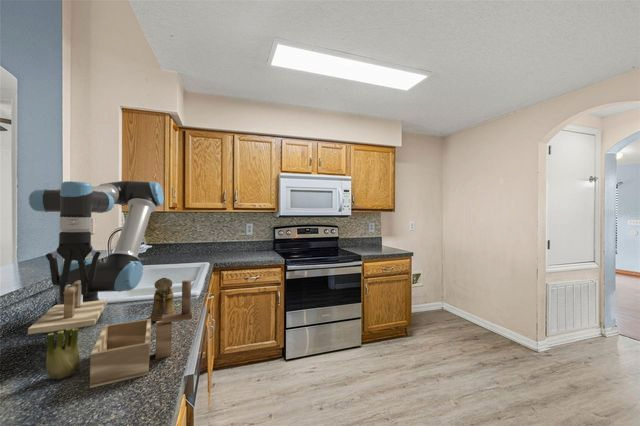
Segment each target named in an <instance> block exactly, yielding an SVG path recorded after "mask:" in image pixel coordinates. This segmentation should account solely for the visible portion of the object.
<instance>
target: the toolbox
mask: <svg viewBox="0 0 640 426" xmlns="http://www.w3.org/2000/svg"><path fill="white" fill-rule="evenodd" d="M172 327H173V322H169V323H163V324H162V321H156V323H155V359H156V360H158V359H162V358H166V357H167V358H168V357H172V338H173V337H172V335H173V334H172V333H173V331H172V330H173V328H172ZM151 328H152V321H151V319H150V318H147V319H139V320H131V321H126V322H119V323H118V322H117V323H111V324H104V326H103V328H102V330H101V332H100V334H99V336H98V339H97V340H96V343H95V345H94V346H93V349H92V351H91V353H90V363H89V365H90V368H89V388H90V389H91V388H95V387H100V386H105V385H108V384H114V383H118V382H122V381H126V380H130V379H134V378H135V379H136V378H138V377H144V376H148V375H149V371H150V358H151V357H150V356H151V355H150V354H151V335H152V333H151V332H152V329H151Z"/></svg>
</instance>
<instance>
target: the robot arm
mask: <svg viewBox="0 0 640 426" xmlns="http://www.w3.org/2000/svg"><path fill="white" fill-rule="evenodd" d="M60 184H61V185H60V189H59V188H58V189H35V190H33V191H31V193H30V194H29V196H28V204H29V207H30V208H31V209H32V210H34V211H35V212H36V211H37V212H42V213H43V212H45V213H47V212H50V213H53V212H54V213H57V212H58V213H59V230H60V232H59V233H58V238H59V239H58V247H57V248H56V250H55V251H51V252H48V253H46V254H45V257H46V259H47V260H48V262H49V263H48V264H49V270H50V278H51V284H52V285H53V286H58V302H57V305H62V304H64V294H63V292H64V291H65V290H66V289H67V288H68V287H70V286H71V285H72V284H73V283H74V282H76V281H78V280H81V284H79V285H78V303H77V307H78V306H81V305H82V304H83V302H90V301H99V300H100V299H99V293H100V292H101V293H102V292H103V293H107V292H109V293H111V292H118V293H119V292H120V293H121V292H127V291H132V290H134V289H135V288H136V287H137V286H138V285H139V284H140V282H141V280H142V278H143V273H144V272H143V270H144V266H143V263H142V262H141V259H140V257H138V256H139V252H140V250H141V249H140V248H141V245H142V244H143V243H142V242H143V240H144V236H145V232H146V230H147V227H148V223H149V221H150V217H151V214H152V213H154V212H155V211H156V209H157V207H160V206H161V207H162V205H163V204H164V200H165V199H164V192H163V187H162V186H161V184H160V183H158V182H156V181H150V180H149V181H135V180H133V181H132V180H121V181H113V182H105V183H104V182H103V183H100V184H99V185H97V186H95V185H94V186H92V184H91V183H90V182H84V181H63V182H62V183H60ZM114 205H123V206H128V208H129V210H128V212H127V215H126V218H125V220H124V222H123V225H122V229H121V231H120V233H119V236H118V240H117V241H116V245H115V247H114V251H113V252H112V253H109V254H108V255H107V257H106V258H105V261H100V260H99V258H100V256H101V254H102V253H103V252H102V250H97V249H94V248H93V246H92V232H91V231H90V230H91V229H92V213H97V214H102V213H103V214H104V213H107V212H110V211H111V210H112V209H114ZM90 253H91V258H87V257H88V256H89V255H90ZM59 256H60V257H62V259H63V263H62V264H61V265H60V266H59V265H58V259H57V258H58V257H59ZM103 315H104V310H103V311H102V313H101V315H100V316H99V318H98V319H100V318H102V317H103Z"/></svg>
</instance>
